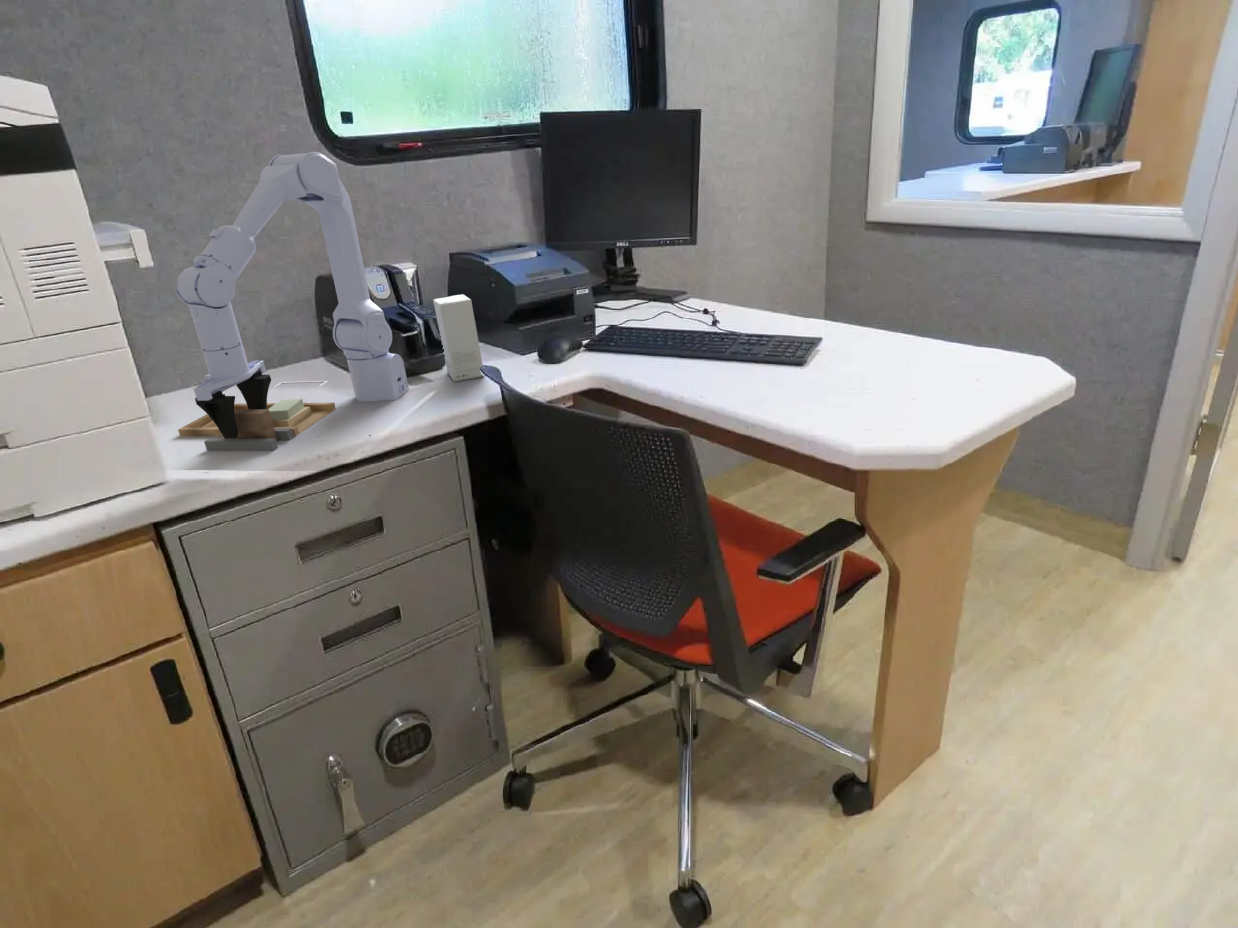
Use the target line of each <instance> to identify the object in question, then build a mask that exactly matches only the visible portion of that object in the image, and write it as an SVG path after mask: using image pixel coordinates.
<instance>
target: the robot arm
mask: <svg viewBox="0 0 1238 928" xmlns="http://www.w3.org/2000/svg"><path fill="white" fill-rule="evenodd" d="M260 172H261V173H260V179H259V181H258V182H257V184H256V186H255V188H254V189H253V190H252V193H251V194H250V195H249V197H248V200H247V201H246V202H245V204H244V205H243V207H242V209H241V210H240V213H239V214H238V216H237V217H236V219H235V220H234V222H233V223H232V225H221V226H220V227H219V228H218V229H216V228H215V229H212V231H211V232H210V234H209V237H210V238H211V240H210V241H209V243H208V244H207V245H206V247H205V248H204V250H203V251H202V252H201V254H200V255H196V256H195V257H194V259H193V261H192V262H193V263H194V264H193V266H191V267H188V268H185V269H183V270H182V271H181V272H180V273H179V276H178V278H177V285H176V287H177V288H175V289H174V293H175V295H176V296H177V297H178V299H179V300H180V301H182V303H184V304H185V305H186V307H188V310H189V312H190V315H191V318H192V322H193V324H194V328H195V331H196V334H197V338H198V341H199V344H200V348H201V352H202V356H203V358H204V361H205V362H204V363H205V365H206V368H207V371H208V374H206V375H205V376H204V377H205V379H204V381H203V382H202V383H200V384H199V385H198V386H196V387H194V388H193V392H194V393H195V394H194V395H195V398H194V401H195V404H196V405H197V406H198V407H199V408H200V409H201V410H203V412H205V413H206V415H207V414H208V415H209V416H210V418H211V419H212V420H213V421H214V423H215V424H216V426H217V427H218V429H219V430H220V432H221V433H222V435H223V436H222V437H223V439H224V438H236V437H238V429H237V424H236V420H235V413H234V404H236V403H235V402H236V396H235V395H226V394H225V393H223V392H224V391H227V390H228V389H230V388H233V387H235V386H236V387H237V389H238V390H239V391H240V394H241V395H242V397H243V399H244V401H245V404H247V406H248V409H267V403H268V393H269V390H270V385H271V383H272V378H271V375H270V374H264V373H266V372H267V370H266V366H265V363H264V362H265V361H264V360H251V361H249V362H248V359H247V356H246V352H245V349H244V345H243V342H242V338H241V334H240V331H239V327H238V324H237V319H236V317H235V314H234V310H233V305H232V303H231V301H232V300H233V299H235V296H236V290H237V289H236V281H237V280H238V279H239V276H241V274H242V272H243V271H244V269H245V268H246V266H247V265H248V263H249V262H250V260H251V259H252V258H253V256H254V255H255V253H256V251H257V245H256V242H255V238H256V237H257V235H258V234H259V233H260V232H261V231H262V229H263V228H264V227H266V224H267V223H268V222H269V220H270V219H271V218H272V217H273V216H274V214H275V213H276V212H277V210H279V208H280V206H281V205H282V204H283V203H284V202H288V201H289V202H290V201H292V200H299V201H301V202H303V203H305V204H306V205H307V206H309V207H311V208H312V209H314V211H316V212H317V213H318V215H319V218H320V219H319V220H320V225H321V228H322V233H323V237H324V243H325V247H326V251H327V256H328V260H329V265H330V269H331V275H332V279H333V284H334V287H335V293H336V296H337V301H338V304H337V306H336V307H335V309H334V311H333V312H332V319H333V328H332V339H333V341H334V343H335V345H336V346H337V347H338V348H339V349H341V350H342V353H343V356H345V357H346V362H347V366H348V370H349V375H350V376H349V377H350V379H351V384H352V389H353V392H354V393H353V394H354V396H355V400H356V401H359V402H363V403H365V402H375V401H376V402H377V401H397V400H398V399H399V398H400V397H402V396H403V395H404V394H406V393H407V392H408V391H410V388H409V384H408V383H409V382H408V378H407V373H406V368H405V363H404V359H403V358H402V356H401V355H400V354H397V353H391V352H390V351H389V349H390V347H391V345H392V342H393V333H392V329H391V327H390V325H389V324H388V322H387V320H386V317H385V313H384V311H383V310H382V309H381V308H380V306H378V304H376V303H375V302H373V300H372V299H371V295H370V291H369V286H368V281H367V276H366V272H365V270H366V269H365V266H364V261H363V255H362V252H361V247H360V242H359V237H358V231H357V227H356V222H355V216H354V211H353V206H352V203H351V198H350V195H349V193H348V192H347V190H346V187H345V186H344V185H343V182H342V180H341V179H340V174H339V169H338V165H337V163H335V162H333V160H331V159H329V158H328V157H327V156H326V155H324V154H322V153H321V152H318V151H311V152H307V153H297V154H296V153H295V154H276V155H275V156H273V157H272V158H271V159H270V160H269V162H268V165H266V166H265V167H264V168H263V169H262V170H261V171H260Z"/></svg>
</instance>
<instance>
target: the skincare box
mask: <svg viewBox="0 0 1238 928" xmlns="http://www.w3.org/2000/svg"><path fill="white" fill-rule="evenodd" d="M432 300H433V301H432V302H433V307H434V311H435V316H436V322H437V327H438V330H439V331H440V332H439V336H441V337H440V341H442V342H441V346H442V345H443V347H442V350H443V349H444V352H443V356H444V355H445V357H444V361H445V366H446V371H447V374H448V376H450V378H451V379H452V380H453V382H462V381H466V380H467V381H468V380H473V379H476V378H477V379H478V378H482V377H484V376H483V375H482V374H481V372H480V367H481V366H483V367H484V365H483V359H482V355H481V348H480V347H481V346H480V343H479V342H480V341H479V337H478V330H477V326H476V320H475V313H474V309H473V303H472V299H471V298H469V297H468V296H466V295H465V294H463V293H462V294H456V295H455V294H454V295H450V296H446V297H438V298H435V299H432Z"/></svg>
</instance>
